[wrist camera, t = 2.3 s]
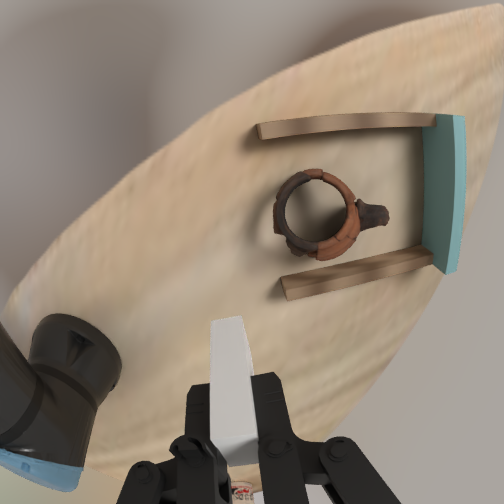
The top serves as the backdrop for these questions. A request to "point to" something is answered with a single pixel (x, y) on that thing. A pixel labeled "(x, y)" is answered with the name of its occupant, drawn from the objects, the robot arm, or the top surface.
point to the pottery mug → (355, 222)
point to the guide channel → (366, 267)
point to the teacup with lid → (242, 493)
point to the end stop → (444, 189)
